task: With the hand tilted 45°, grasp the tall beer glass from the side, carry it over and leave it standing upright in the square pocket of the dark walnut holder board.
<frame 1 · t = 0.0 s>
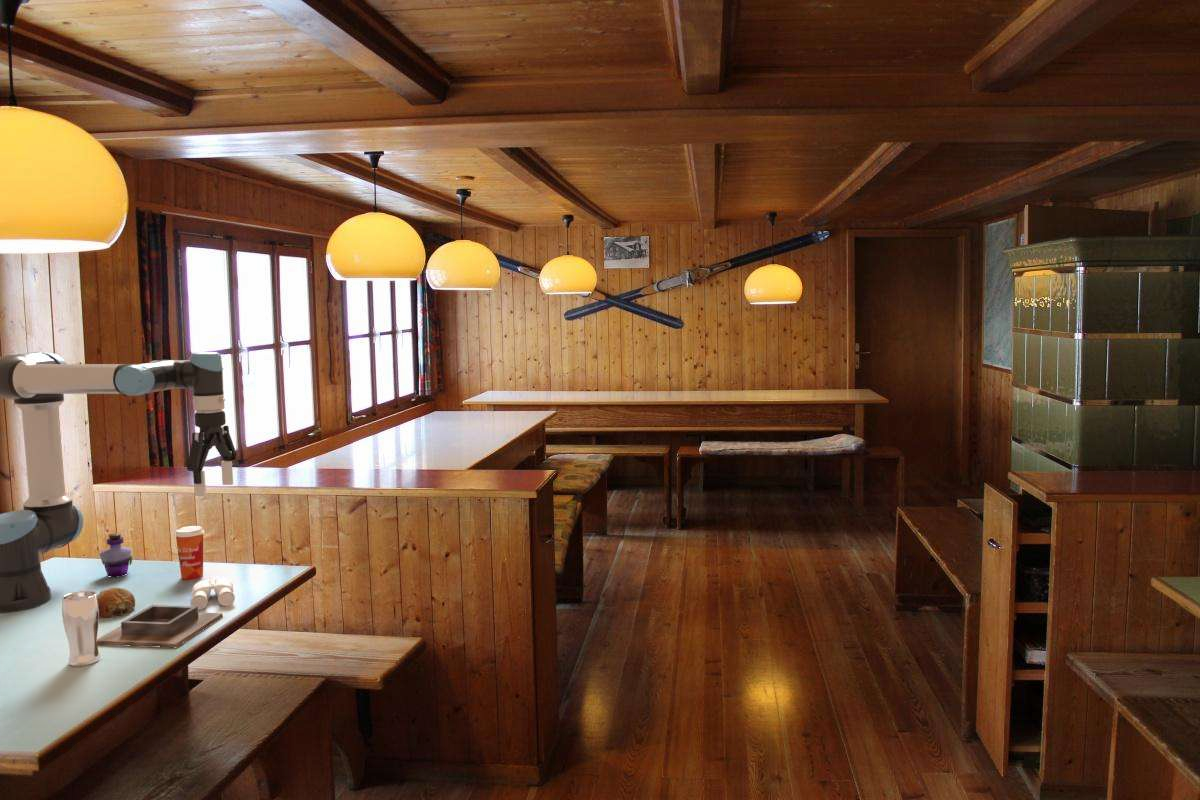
hand: (214, 490, 246), 28 cm above the table, tool pointing down, fingers open, 13 cm apart
beer glass: (84, 662, 203), on the table
bread roll: (113, 613, 235), on the table
binoculars: (213, 600, 244), on the table
potion bottle: (117, 575, 266), on the table
paper cup: (192, 577, 263), on the table
holder board: (161, 630, 221), on the table
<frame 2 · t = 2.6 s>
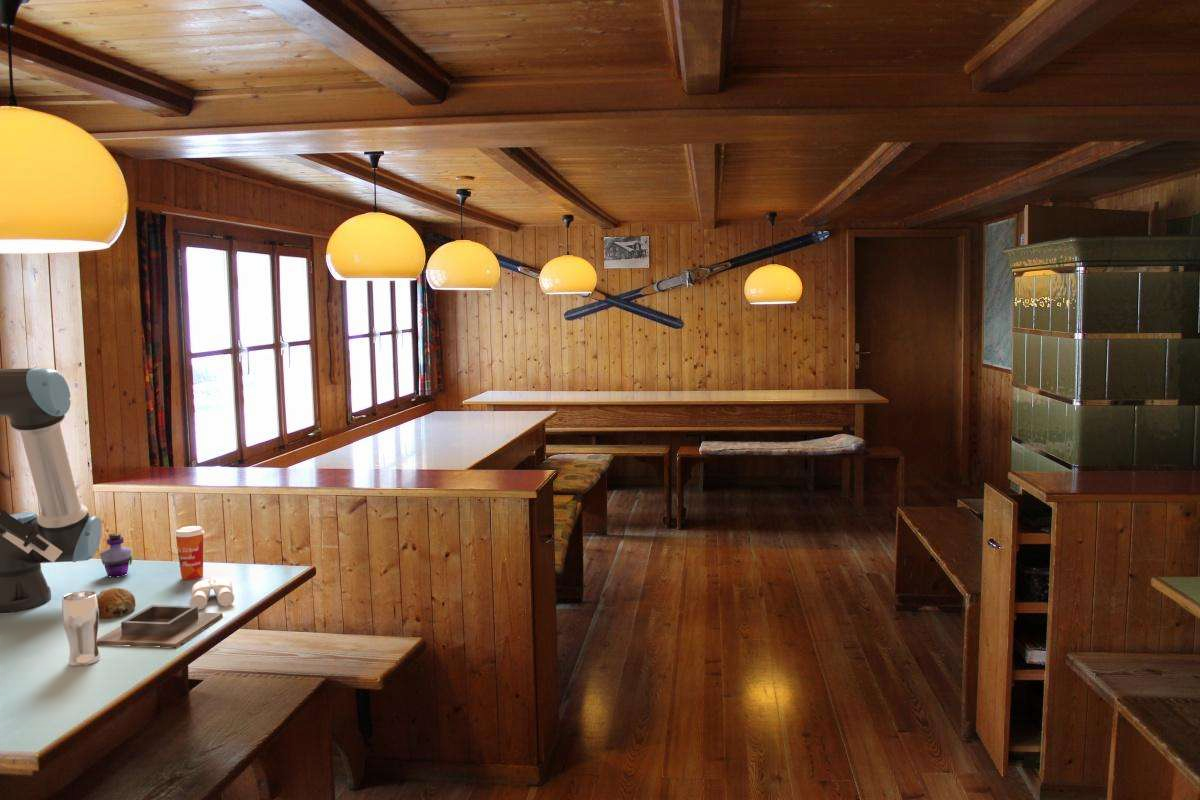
hand: (44, 552, 196), 26 cm above the table, tool tilted 45°, fingers open, 13 cm apart
nothing on the table moved.
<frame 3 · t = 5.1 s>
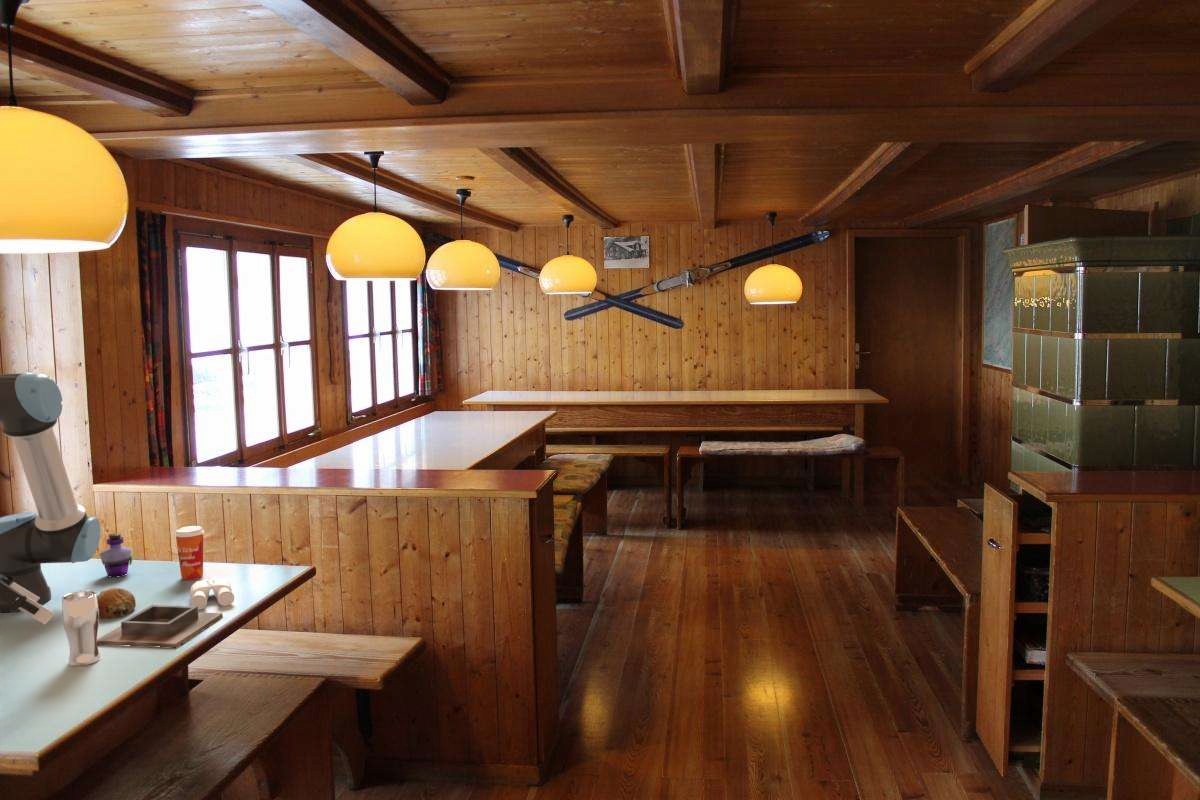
hand: (42, 610, 196), 13 cm above the table, tool tilted 45°, fingers open, 13 cm apart
nothing on the table moved.
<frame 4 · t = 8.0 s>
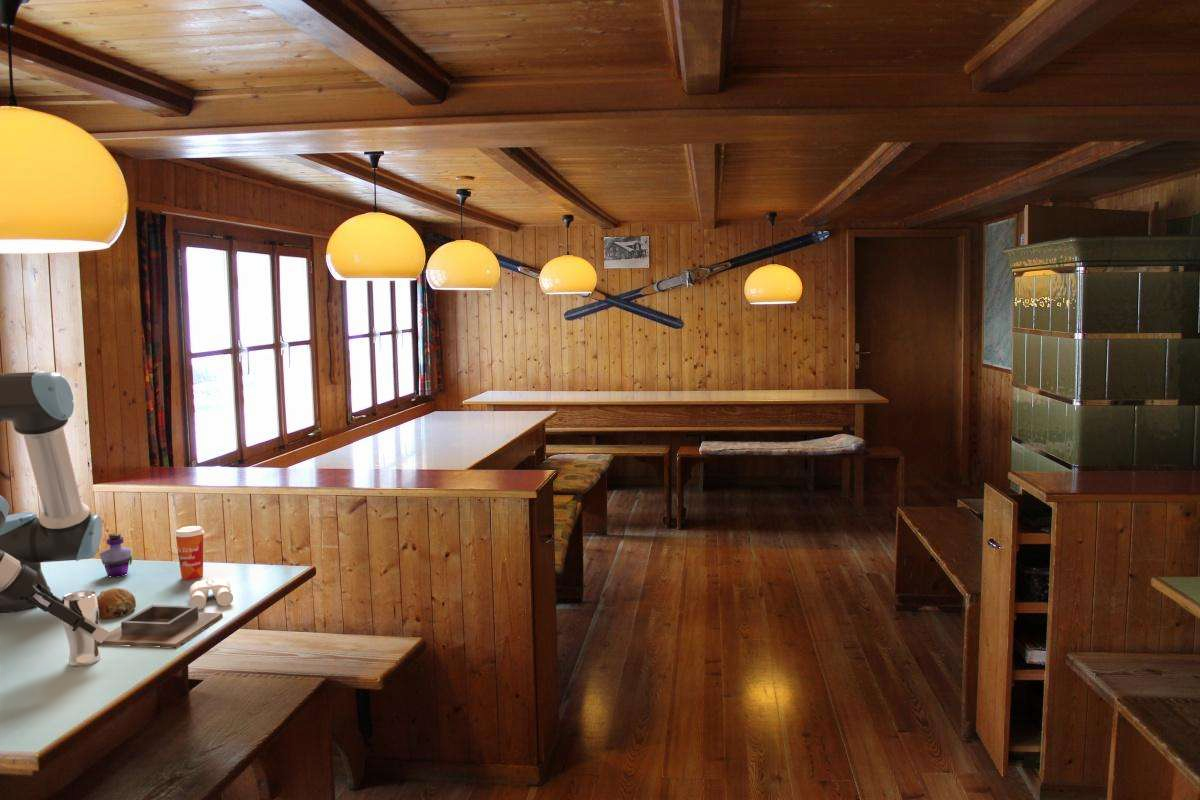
hand: (100, 632, 205), 6 cm above the table, tool tilted 45°, fingers closed on beer glass, 7 cm apart
beer glass: (84, 661, 203), on the table, touching gripper
everything else where it was.
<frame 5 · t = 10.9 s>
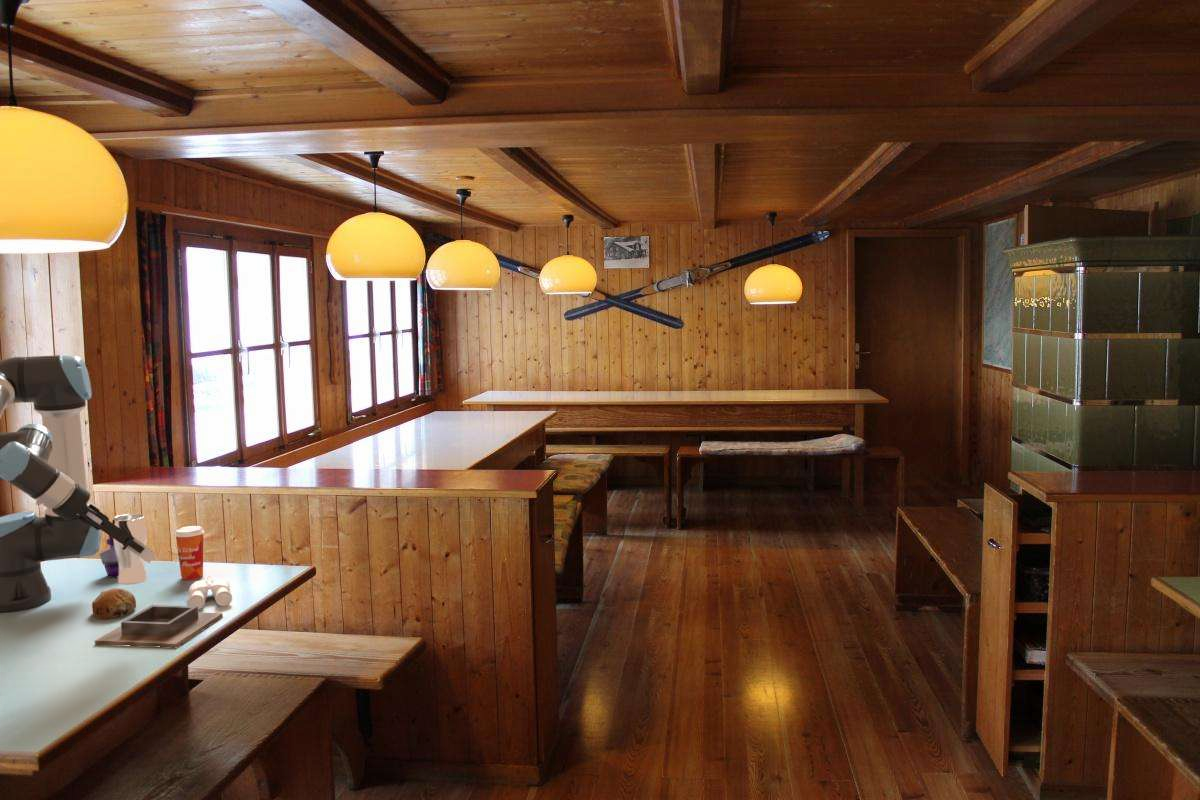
hand: (147, 554, 214), 20 cm above the table, tool tilted 45°, fingers closed on beer glass, 7 cm apart
beer glass: (132, 581, 212), point 14 cm above the table, touching gripper
everything else where it was.
when the fingers open (8 cm above the table, at t = 14.1 s): beer glass drops 1 cm, resting on holder board.
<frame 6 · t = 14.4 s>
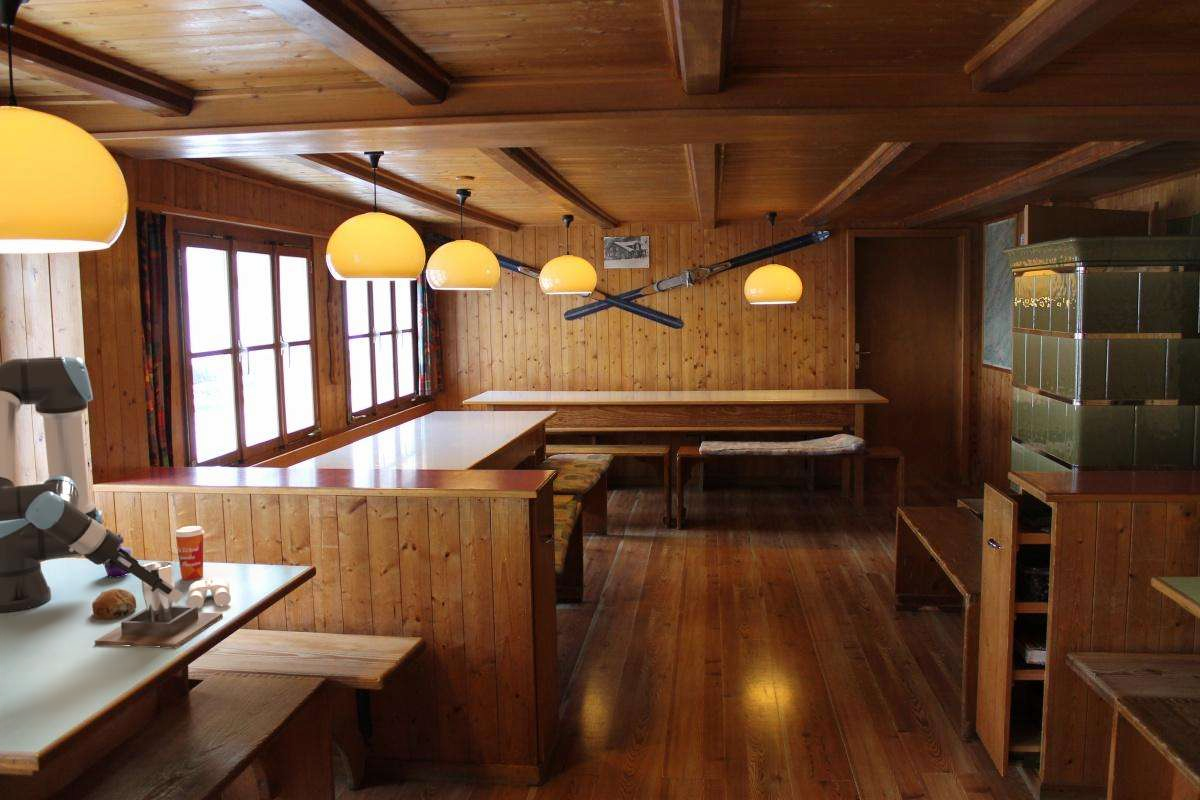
hand: (172, 593, 222), 8 cm above the table, tool tilted 45°, fingers open, 10 cm apart
beer glass: (161, 627, 221), point 1 cm above the table, touching holder board
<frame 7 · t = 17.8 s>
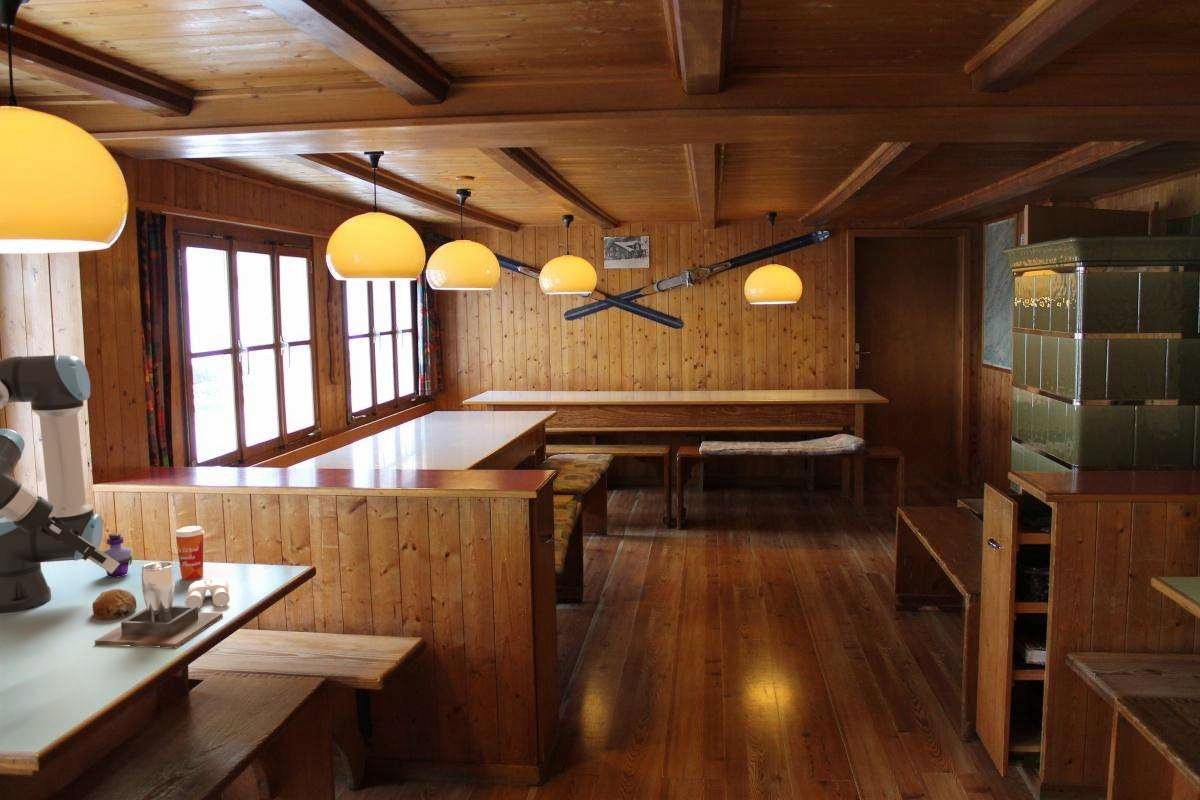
hand: (106, 562, 212), 19 cm above the table, tool tilted 45°, fingers open, 13 cm apart
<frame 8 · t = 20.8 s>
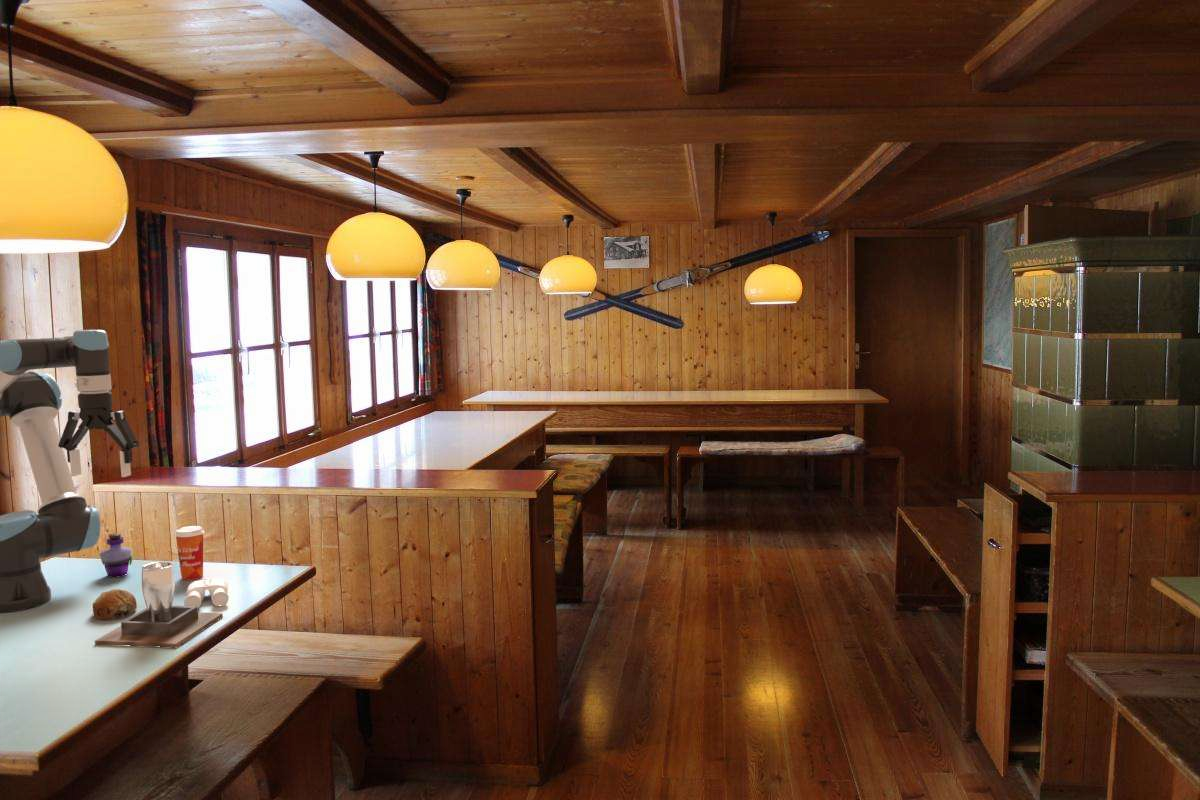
hand: (101, 475, 233), 35 cm above the table, tool pointing down, fingers open, 13 cm apart
at the end: beer glass 0.1 cm off-centre on the holder board, point 0.8 cm above the holder board's base; beer glass tilted 0°; the gripper is holding nothing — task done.
